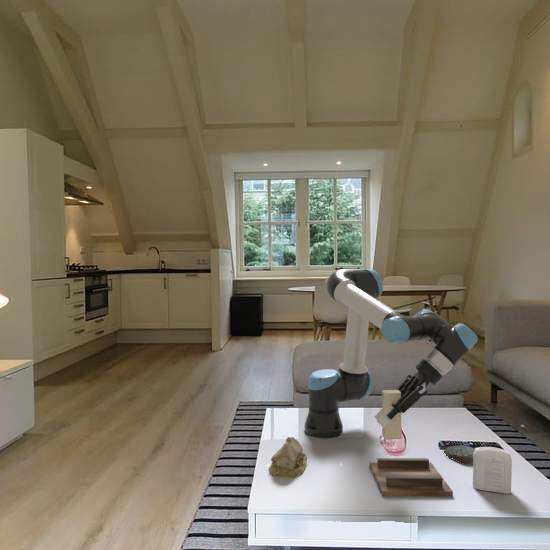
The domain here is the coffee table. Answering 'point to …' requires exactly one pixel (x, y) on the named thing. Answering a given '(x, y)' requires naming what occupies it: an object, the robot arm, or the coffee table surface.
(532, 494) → the coffee table surface
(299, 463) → the ceramic model
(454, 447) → the fossil
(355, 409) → the coffee table surface
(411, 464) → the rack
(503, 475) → the white upright flat block
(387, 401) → the beige rectangular block
